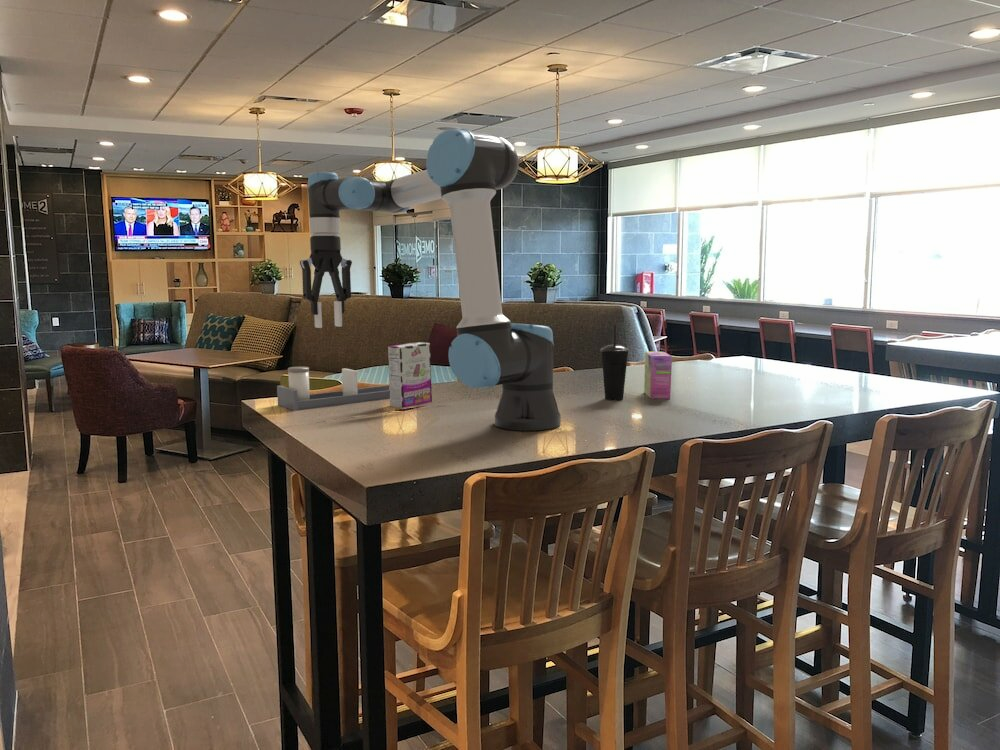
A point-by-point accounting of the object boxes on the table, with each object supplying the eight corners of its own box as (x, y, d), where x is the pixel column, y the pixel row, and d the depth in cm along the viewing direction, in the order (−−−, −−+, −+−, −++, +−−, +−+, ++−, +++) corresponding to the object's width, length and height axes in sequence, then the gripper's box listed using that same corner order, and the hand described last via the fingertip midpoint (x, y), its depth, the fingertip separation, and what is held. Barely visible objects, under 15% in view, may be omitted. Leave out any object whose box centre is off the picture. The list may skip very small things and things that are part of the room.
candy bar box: (418, 403, 210) (417, 341, 208) (432, 405, 207) (431, 342, 205) (388, 409, 202) (386, 345, 199) (402, 411, 199) (401, 346, 196)
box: (671, 399, 215) (672, 355, 213) (650, 399, 215) (650, 355, 213) (664, 392, 225) (665, 351, 223) (643, 392, 225) (644, 351, 223)
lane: (405, 400, 215) (405, 378, 214) (294, 414, 195) (293, 390, 195) (386, 395, 223) (386, 374, 222) (278, 409, 203) (277, 385, 202)
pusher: (366, 399, 209) (365, 369, 208) (354, 401, 207) (353, 371, 206) (354, 396, 215) (353, 367, 213) (342, 398, 212) (341, 368, 211)
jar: (313, 406, 201) (312, 368, 200) (294, 408, 198) (292, 369, 196) (305, 403, 205) (303, 366, 204) (286, 405, 202) (284, 367, 201)
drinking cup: (627, 396, 218) (628, 324, 215) (629, 401, 211) (630, 326, 208) (599, 396, 219) (600, 324, 216) (600, 401, 212) (601, 326, 209)
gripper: (350, 236, 209) (353, 324, 212) (285, 235, 198) (289, 328, 201) (363, 235, 203) (366, 325, 207) (298, 234, 192) (302, 329, 196)
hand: (328, 326), depth 204 cm, fingers open, 5 cm apart
